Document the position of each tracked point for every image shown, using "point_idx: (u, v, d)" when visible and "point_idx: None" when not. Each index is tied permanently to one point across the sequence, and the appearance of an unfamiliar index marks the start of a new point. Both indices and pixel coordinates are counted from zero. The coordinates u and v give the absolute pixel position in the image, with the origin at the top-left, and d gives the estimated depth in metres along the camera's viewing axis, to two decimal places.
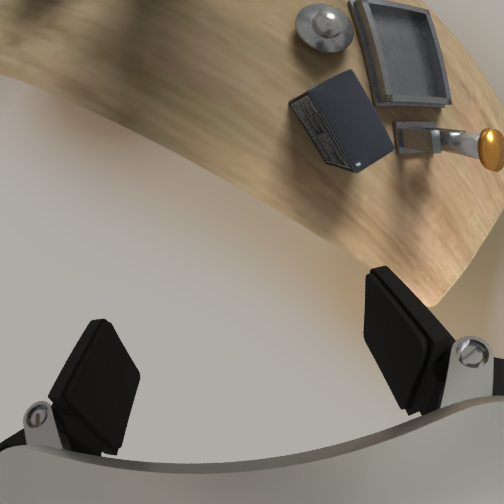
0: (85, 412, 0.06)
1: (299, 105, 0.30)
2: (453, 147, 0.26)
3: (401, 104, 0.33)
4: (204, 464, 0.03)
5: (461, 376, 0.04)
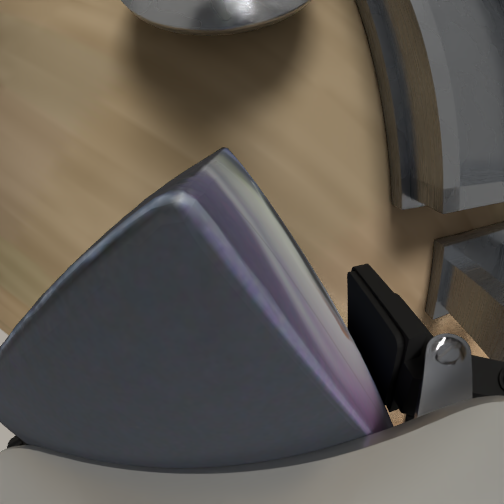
0: None
1: None
2: None
3: None
4: None
5: (438, 374, 0.04)
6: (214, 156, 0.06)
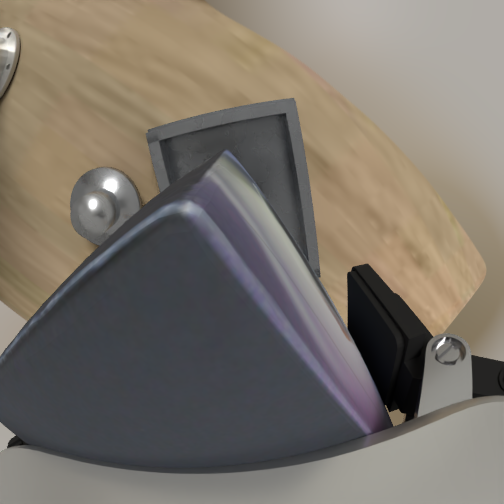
0: None
1: None
2: None
3: None
4: None
5: (438, 375, 0.04)
6: (216, 159, 0.06)
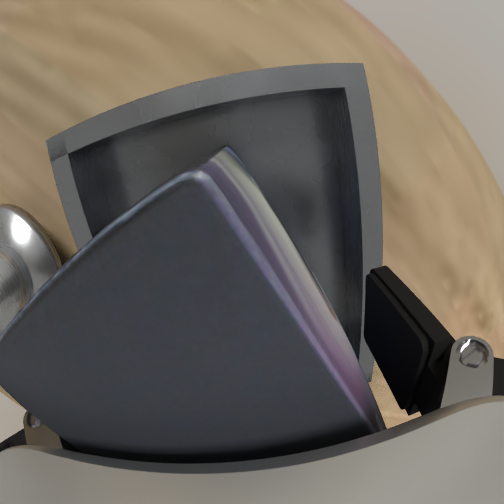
0: None
1: None
2: None
3: None
4: (204, 464, 0.03)
5: (461, 376, 0.04)
6: (218, 152, 0.06)
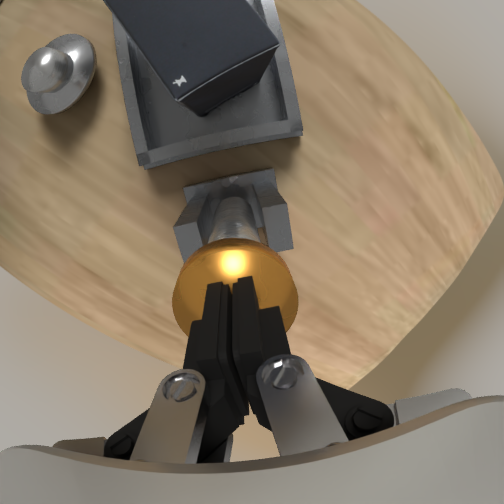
0: (231, 374, 0.07)
1: None
2: None
3: (192, 154, 0.22)
4: (204, 464, 0.03)
5: (282, 401, 0.05)
6: None
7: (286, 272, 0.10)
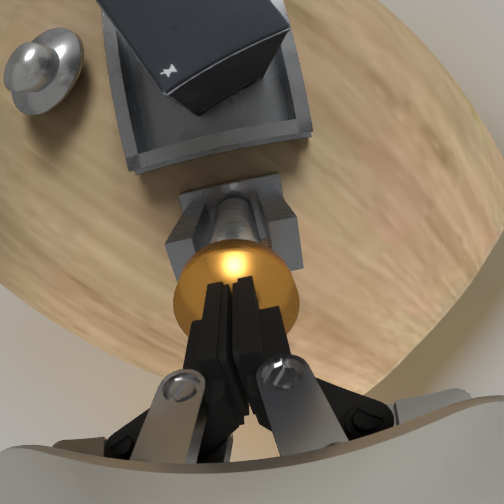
0: (232, 374, 0.07)
1: None
2: None
3: (188, 157, 0.20)
4: (204, 464, 0.03)
5: (281, 401, 0.05)
6: None
7: (287, 273, 0.10)
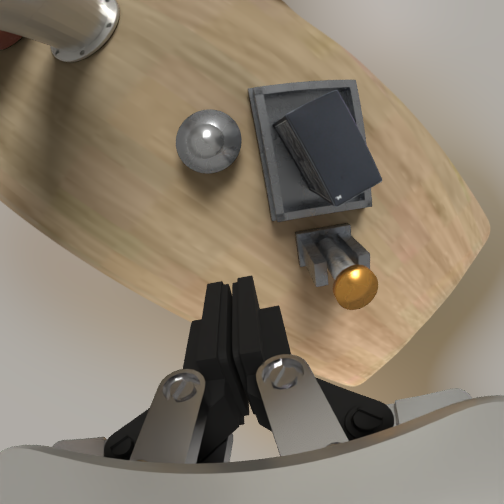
0: (231, 374, 0.07)
1: (281, 128, 0.29)
2: None
3: None
4: (204, 464, 0.03)
5: (281, 401, 0.05)
6: None
7: (375, 276, 0.27)
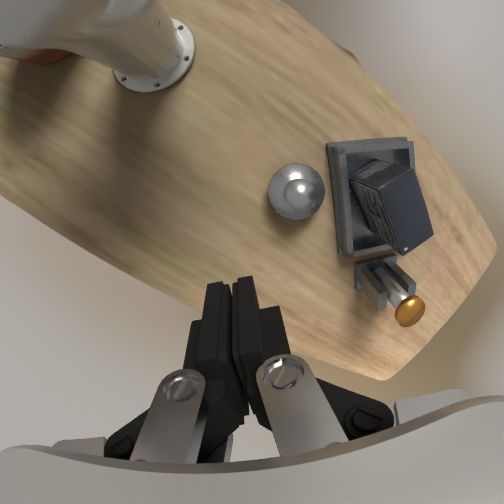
0: (232, 374, 0.07)
1: (360, 187, 0.36)
2: None
3: None
4: (204, 464, 0.03)
5: (281, 401, 0.05)
6: None
7: (424, 303, 0.34)
